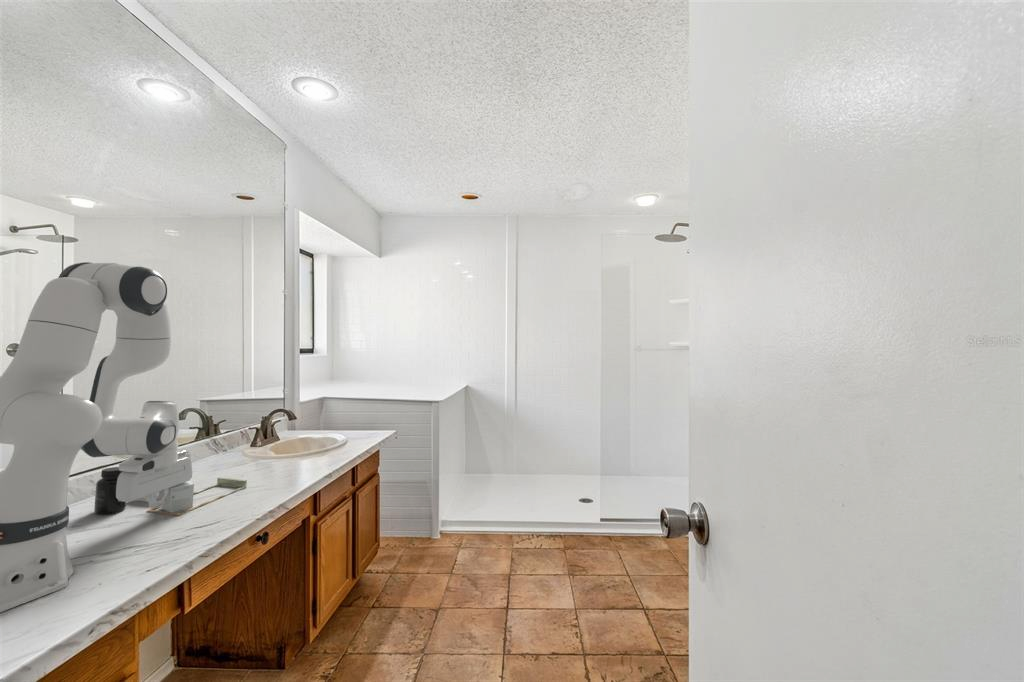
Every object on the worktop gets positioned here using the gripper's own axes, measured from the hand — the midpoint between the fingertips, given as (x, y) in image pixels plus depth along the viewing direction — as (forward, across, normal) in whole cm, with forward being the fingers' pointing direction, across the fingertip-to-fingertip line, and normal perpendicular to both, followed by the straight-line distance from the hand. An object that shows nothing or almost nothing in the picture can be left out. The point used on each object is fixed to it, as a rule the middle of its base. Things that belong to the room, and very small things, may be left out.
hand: (156, 506), depth 129 cm
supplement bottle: (+3, 0, -15) cm, 16 cm away
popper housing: (+3, -13, -14) cm, 19 cm away
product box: (+3, -7, 0) cm, 8 cm away
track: (+3, -15, -1) cm, 16 cm away
